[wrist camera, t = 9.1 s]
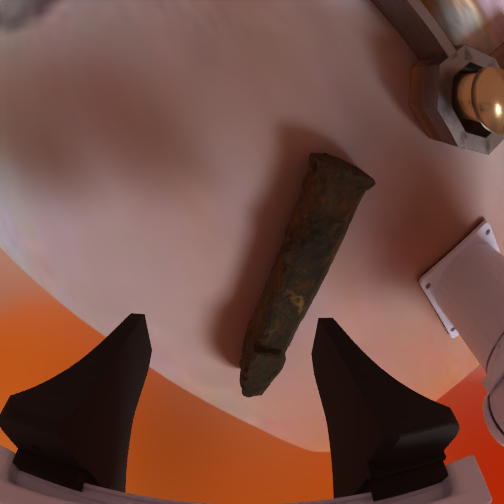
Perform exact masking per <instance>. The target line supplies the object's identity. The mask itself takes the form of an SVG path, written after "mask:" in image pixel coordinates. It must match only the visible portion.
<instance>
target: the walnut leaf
mask: <svg viewBox="0 0 504 504" xmlns="http://www.w3.org/2000/svg"><path fill="white" fill-rule="evenodd" d="M489 56H491V57H493V58H495V59H496V61H497V63H498V65H499V67H500V68H502V69H504V43H503V44H502V45H501V46H500V47H498V48H497V49H496V50H495V51H494V52H493V53H491V54H490V55H489ZM432 60H433V59H430V60H423V61H419V62H418V63H417V64H415V65H414V66H413V67H412V68H411V86H410V102H409V106H410V108H411V109H412V111H413V112H414V114H415V115H416V117H417V119H418V120H419V122H420V123H421V125H422V126H423V128H424V130H425V131H426V133H427V135H428V136H429V138H431V139H434V140H437V141H441V142H443V141H442V139H441V137H440V136H439V134H438V132H437V130H436V129H435V127H434V125H433V124H432V122H431V120H430V119H429V117H428V116H427V114H426V112H425V111H424V109H423V108H422V105H423V90H424V68H425V65H427V64H428V63H429V62H431V61H432ZM460 72H461V73H476V72H475V71H474V70H472V69H469V68H466V67H463V68H462V69H461V70H460ZM480 124H481V123H480V122H477V121H472V120H467V121H466V122H465V123H463V124H462V126H463V128H464V130H465V132H466V133H470V134H471V133H472V132H473V131H474V130H475V129H476V128H477V127H478V126H479V125H480Z"/></svg>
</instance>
